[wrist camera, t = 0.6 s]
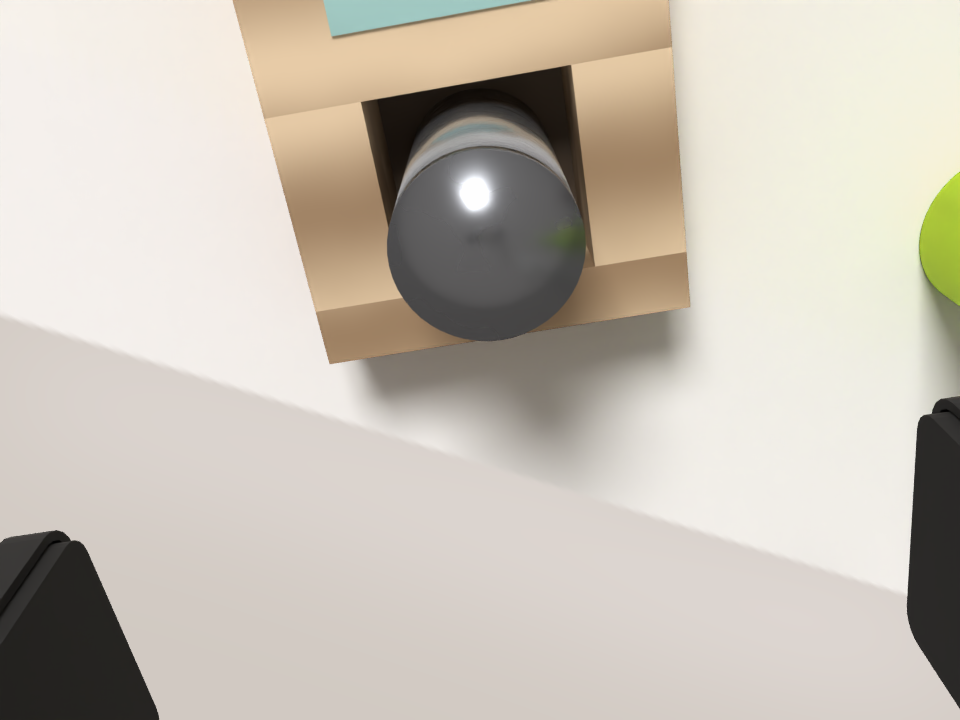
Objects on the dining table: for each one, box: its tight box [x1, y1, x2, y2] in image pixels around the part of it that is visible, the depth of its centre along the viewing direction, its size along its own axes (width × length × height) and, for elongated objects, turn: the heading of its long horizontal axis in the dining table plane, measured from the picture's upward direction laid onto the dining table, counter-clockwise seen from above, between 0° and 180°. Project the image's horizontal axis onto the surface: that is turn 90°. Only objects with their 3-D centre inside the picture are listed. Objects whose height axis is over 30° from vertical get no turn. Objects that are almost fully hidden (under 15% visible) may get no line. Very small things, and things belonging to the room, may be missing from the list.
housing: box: [233, 0, 690, 364], centre depth 27 cm, size 18×12×4 cm, turn 10°
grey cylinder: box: [387, 88, 586, 341], centre depth 26 cm, size 5×5×10 cm
